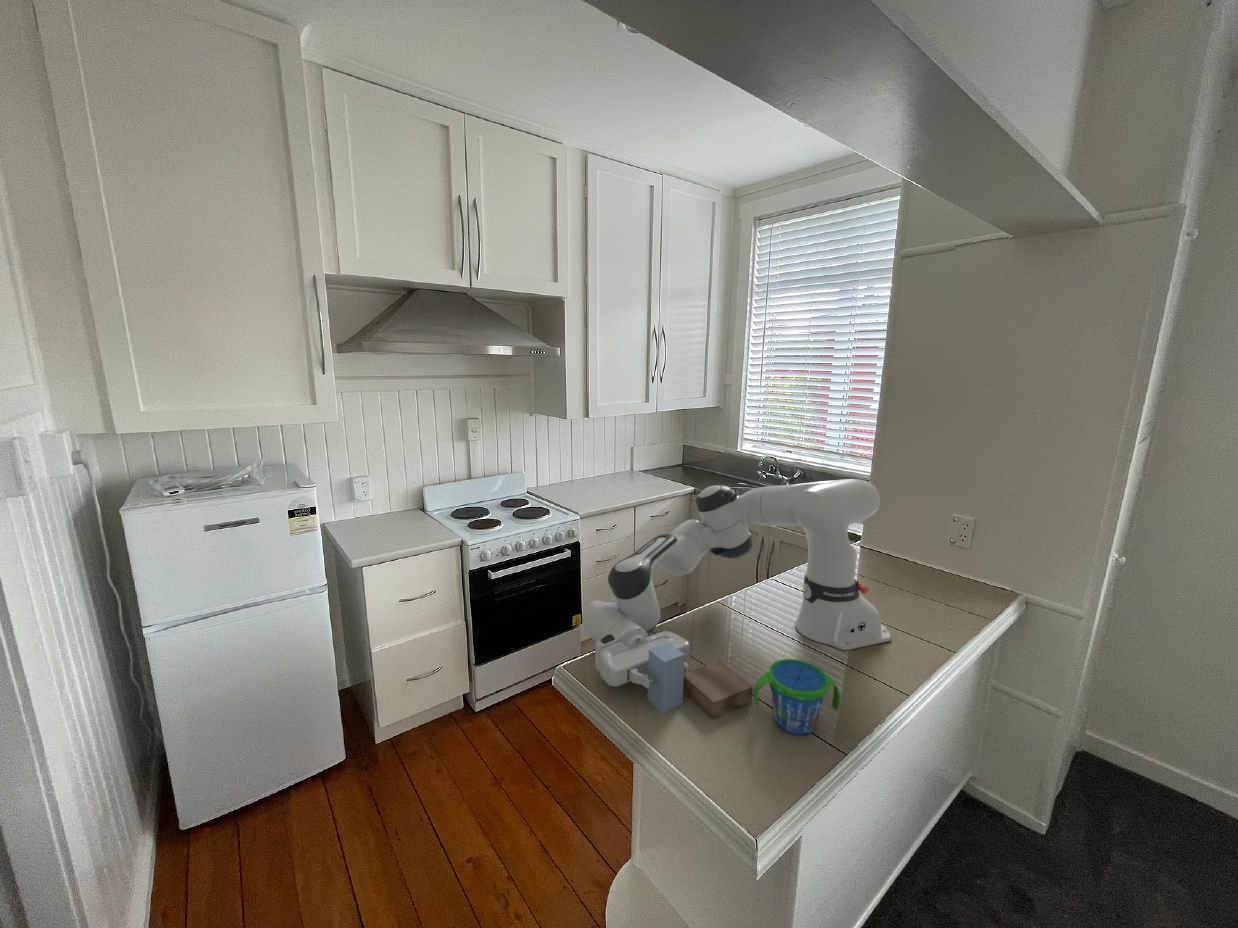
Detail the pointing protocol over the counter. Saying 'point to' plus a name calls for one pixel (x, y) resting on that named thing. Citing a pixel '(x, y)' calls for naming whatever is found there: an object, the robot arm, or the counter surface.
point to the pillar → (666, 677)
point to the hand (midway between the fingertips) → (668, 676)
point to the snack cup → (797, 694)
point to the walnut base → (717, 689)
